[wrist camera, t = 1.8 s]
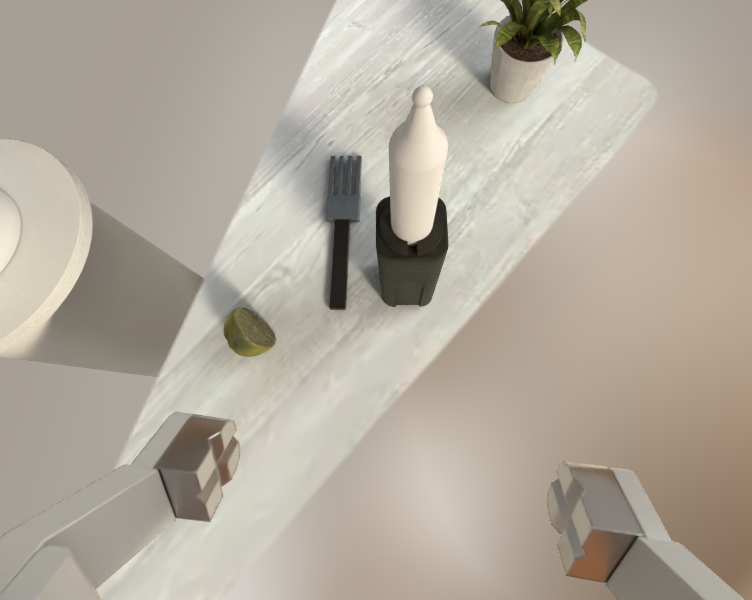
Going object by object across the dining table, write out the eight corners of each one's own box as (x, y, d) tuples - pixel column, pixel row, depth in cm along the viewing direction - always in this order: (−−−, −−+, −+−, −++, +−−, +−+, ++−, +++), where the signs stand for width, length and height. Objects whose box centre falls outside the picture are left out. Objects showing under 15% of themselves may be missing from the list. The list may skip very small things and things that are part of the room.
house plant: (421, 110, 45) (435, -48, 29) (465, 27, 48) (499, -156, 33) (538, 151, 43) (620, 3, 27) (576, 60, 46) (670, -119, 30)
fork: (320, 309, 39) (319, 308, 39) (331, 159, 44) (330, 155, 43) (355, 310, 39) (355, 308, 38) (362, 158, 44) (361, 155, 43)
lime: (245, 310, 39) (224, 297, 35) (288, 323, 39) (272, 311, 34) (228, 351, 38) (204, 343, 34) (272, 365, 38) (254, 359, 33)
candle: (430, 259, 40) (482, 36, 16) (432, 306, 39) (492, 139, 15) (382, 260, 40) (360, 42, 16) (382, 307, 39) (359, 144, 15)
